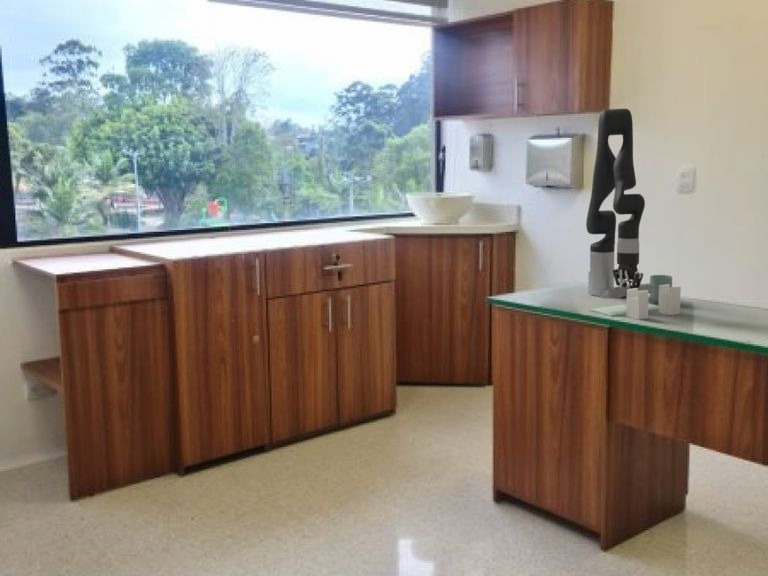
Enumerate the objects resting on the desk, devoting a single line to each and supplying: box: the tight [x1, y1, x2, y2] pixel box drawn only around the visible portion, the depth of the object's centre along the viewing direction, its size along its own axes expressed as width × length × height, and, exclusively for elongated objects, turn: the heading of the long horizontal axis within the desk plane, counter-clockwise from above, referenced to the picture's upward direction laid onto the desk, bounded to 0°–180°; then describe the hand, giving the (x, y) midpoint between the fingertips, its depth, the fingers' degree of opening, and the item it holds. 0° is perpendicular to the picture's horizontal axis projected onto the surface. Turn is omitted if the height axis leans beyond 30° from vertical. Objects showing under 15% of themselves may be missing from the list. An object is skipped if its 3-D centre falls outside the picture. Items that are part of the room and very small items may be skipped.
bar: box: [598, 282, 655, 300], centre depth 274 cm, size 3×22×3 cm, turn 113°
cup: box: [649, 274, 673, 305], centre depth 284 cm, size 8×8×10 cm
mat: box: [588, 303, 658, 317], centre depth 275 cm, size 12×24×1 cm, turn 113°
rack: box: [625, 284, 682, 320], centre depth 264 cm, size 6×18×10 cm, turn 113°
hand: (627, 298), depth 274 cm, fingers closed on bar, 3 cm apart
